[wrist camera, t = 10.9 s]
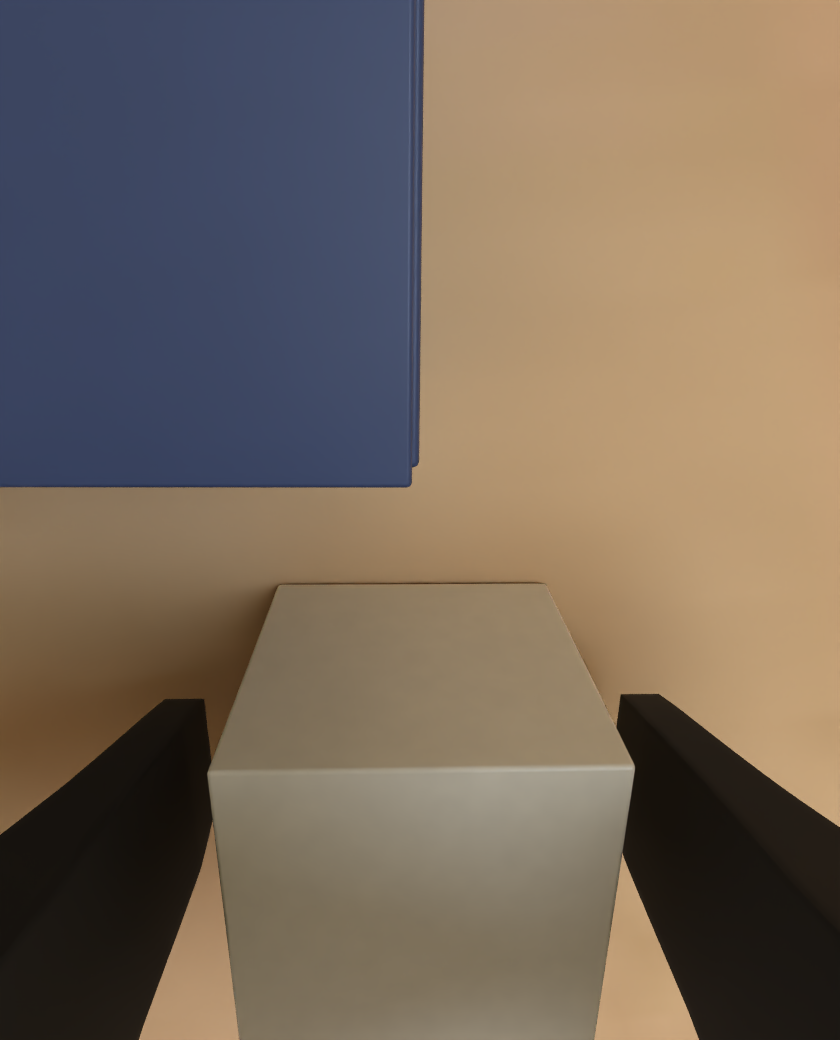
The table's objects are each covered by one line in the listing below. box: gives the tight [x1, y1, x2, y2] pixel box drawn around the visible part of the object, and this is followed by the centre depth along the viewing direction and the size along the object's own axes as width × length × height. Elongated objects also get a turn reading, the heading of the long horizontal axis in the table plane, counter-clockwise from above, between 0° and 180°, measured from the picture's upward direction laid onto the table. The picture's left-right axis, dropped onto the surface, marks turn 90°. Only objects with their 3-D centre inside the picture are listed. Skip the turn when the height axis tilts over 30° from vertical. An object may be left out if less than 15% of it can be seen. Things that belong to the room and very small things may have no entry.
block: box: [207, 584, 635, 1040], centre depth 10 cm, size 4×4×4 cm
